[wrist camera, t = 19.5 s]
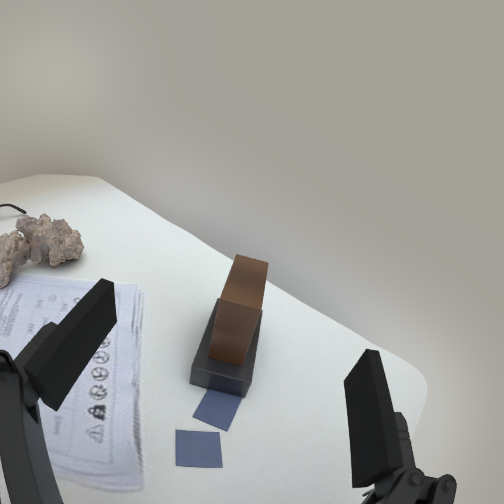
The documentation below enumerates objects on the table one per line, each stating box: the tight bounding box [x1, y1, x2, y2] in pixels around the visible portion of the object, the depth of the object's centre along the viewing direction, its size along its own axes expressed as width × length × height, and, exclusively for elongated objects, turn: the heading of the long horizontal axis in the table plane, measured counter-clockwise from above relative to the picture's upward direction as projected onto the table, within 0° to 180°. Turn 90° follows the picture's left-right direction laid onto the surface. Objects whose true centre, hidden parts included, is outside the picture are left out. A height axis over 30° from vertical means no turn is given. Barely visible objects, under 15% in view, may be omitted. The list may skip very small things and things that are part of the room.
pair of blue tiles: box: [176, 389, 242, 468], centre depth 21 cm, size 13×5×1 cm, turn 172°
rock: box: [0, 214, 84, 288], centre depth 27 cm, size 6×14×7 cm, turn 137°
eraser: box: [190, 255, 268, 398], centre depth 25 cm, size 10×5×9 cm, turn 172°
